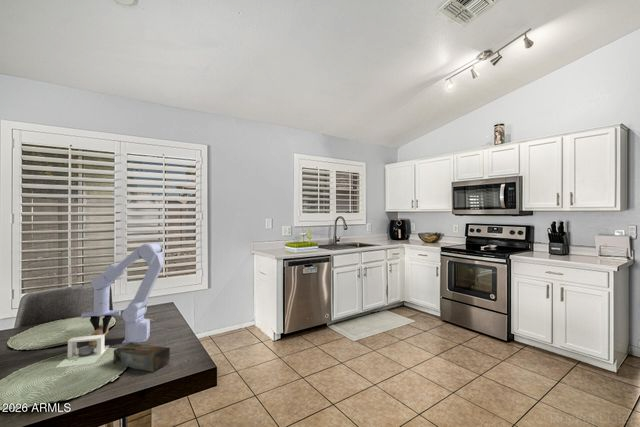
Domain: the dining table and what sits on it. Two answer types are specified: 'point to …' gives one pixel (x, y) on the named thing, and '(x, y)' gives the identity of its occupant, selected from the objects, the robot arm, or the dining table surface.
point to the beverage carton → (142, 356)
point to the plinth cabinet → (73, 341)
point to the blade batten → (98, 332)
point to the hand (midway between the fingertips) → (101, 332)
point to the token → (86, 350)
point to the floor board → (82, 358)
